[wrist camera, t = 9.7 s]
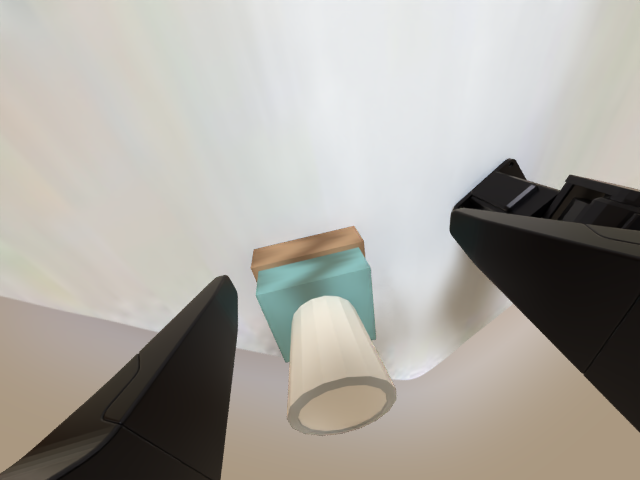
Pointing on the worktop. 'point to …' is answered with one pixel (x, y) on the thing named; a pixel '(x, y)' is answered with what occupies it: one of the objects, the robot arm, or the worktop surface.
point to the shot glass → (334, 370)
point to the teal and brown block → (312, 279)
